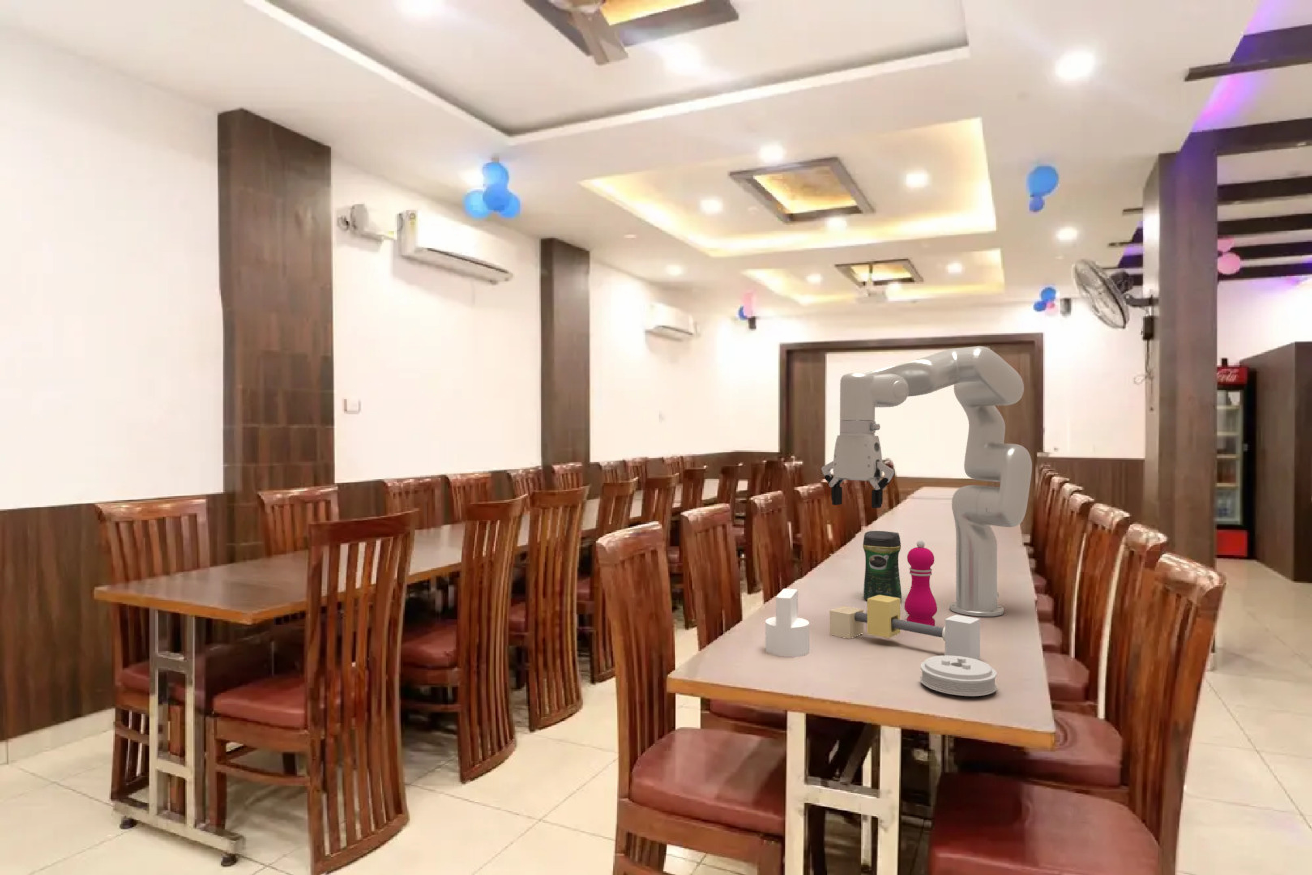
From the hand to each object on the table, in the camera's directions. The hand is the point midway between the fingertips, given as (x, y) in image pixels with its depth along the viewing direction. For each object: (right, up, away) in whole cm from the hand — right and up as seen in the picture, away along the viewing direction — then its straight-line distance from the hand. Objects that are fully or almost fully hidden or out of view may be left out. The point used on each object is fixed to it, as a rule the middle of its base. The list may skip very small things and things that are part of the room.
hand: (856, 506), depth 168 cm
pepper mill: (+17, -29, +8) cm, 35 cm away
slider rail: (+8, -29, -7) cm, 31 cm away
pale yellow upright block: (+5, -27, -4) cm, 28 cm away
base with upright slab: (-17, -30, -10) cm, 35 cm away
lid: (+10, -30, -33) cm, 45 cm away
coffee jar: (+16, -29, +35) cm, 48 cm away
